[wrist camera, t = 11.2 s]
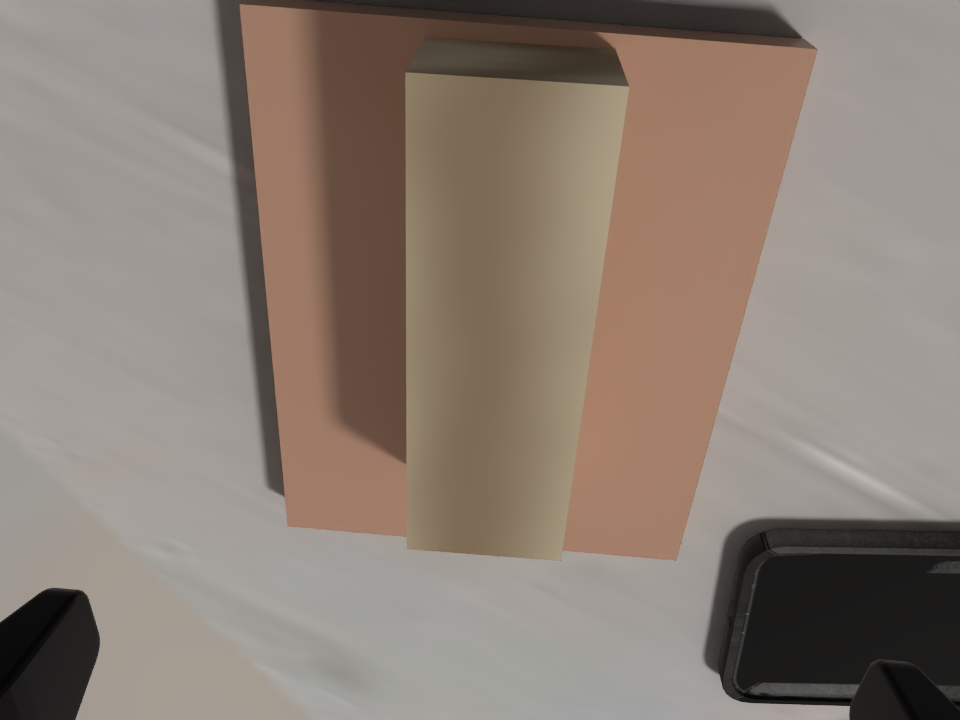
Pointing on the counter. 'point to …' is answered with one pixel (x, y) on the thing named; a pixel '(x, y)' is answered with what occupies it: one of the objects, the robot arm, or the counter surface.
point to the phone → (840, 613)
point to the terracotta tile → (626, 272)
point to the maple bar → (503, 283)
